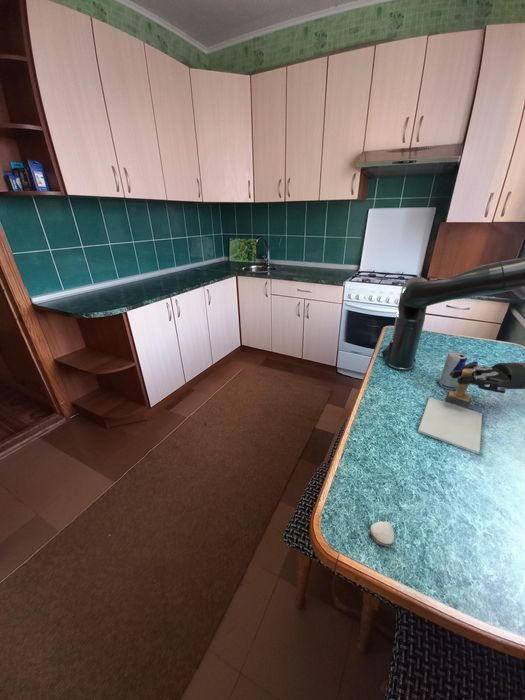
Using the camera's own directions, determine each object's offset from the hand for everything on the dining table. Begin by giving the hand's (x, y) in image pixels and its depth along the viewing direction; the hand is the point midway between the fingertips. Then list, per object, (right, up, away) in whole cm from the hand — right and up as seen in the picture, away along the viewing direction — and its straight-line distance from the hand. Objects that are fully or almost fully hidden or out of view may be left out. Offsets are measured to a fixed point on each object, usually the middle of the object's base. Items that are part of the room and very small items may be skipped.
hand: (455, 377), depth 82 cm
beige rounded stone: (-32, -28, -27) cm, 50 cm away
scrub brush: (+3, -8, +4) cm, 9 cm away
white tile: (-1, -13, +1) cm, 13 cm away
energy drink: (+9, -5, +17) cm, 20 cm away
